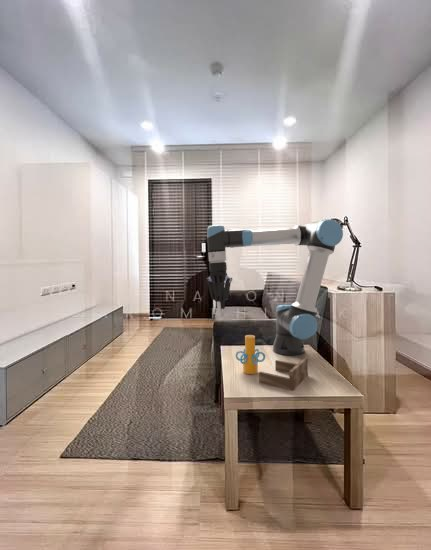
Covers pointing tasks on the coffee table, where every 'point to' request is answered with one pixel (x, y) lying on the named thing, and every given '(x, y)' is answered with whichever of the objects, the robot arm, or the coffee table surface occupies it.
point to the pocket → (295, 377)
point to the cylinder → (250, 356)
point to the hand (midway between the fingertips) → (221, 315)
